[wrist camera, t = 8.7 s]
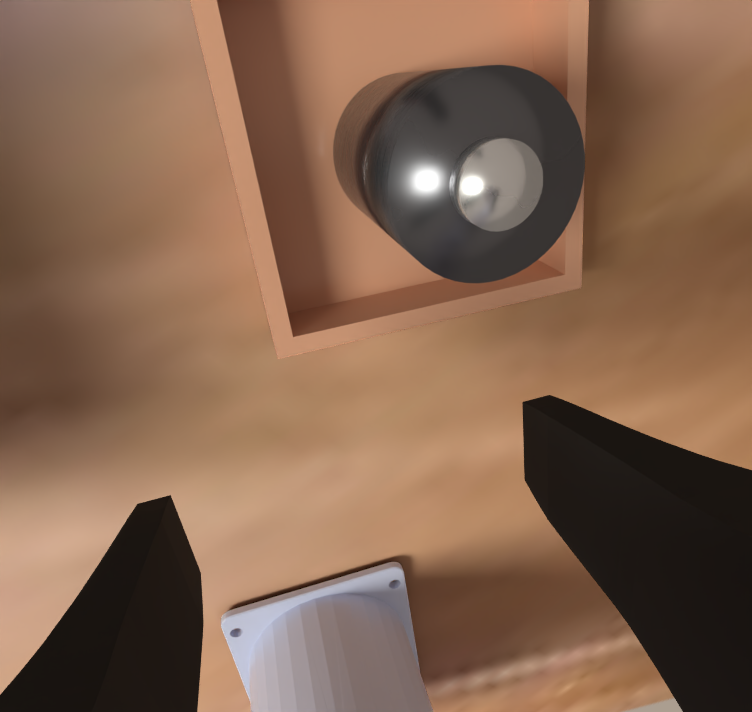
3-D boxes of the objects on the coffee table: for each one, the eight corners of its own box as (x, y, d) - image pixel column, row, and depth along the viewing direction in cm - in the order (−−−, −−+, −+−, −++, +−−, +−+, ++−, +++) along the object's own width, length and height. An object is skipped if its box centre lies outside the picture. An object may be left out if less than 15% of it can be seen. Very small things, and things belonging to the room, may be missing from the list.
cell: (479, 202, 19) (605, 257, 13) (352, 239, 19) (420, 317, 12) (457, 55, 17) (595, 37, 11) (315, 93, 17) (373, 98, 10)
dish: (543, 266, 21) (581, 288, 19) (270, 328, 20) (277, 359, 17) (541, -69, 17) (591, -92, 14) (184, -23, 15) (179, -42, 13)
